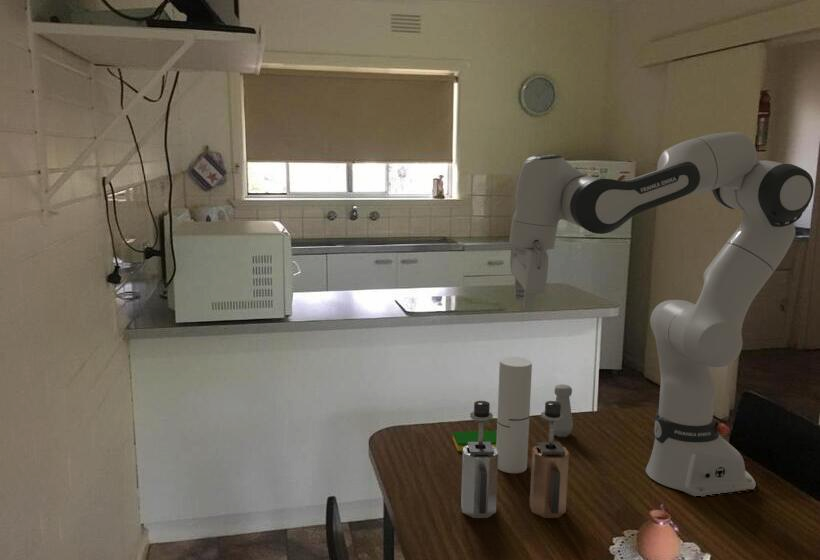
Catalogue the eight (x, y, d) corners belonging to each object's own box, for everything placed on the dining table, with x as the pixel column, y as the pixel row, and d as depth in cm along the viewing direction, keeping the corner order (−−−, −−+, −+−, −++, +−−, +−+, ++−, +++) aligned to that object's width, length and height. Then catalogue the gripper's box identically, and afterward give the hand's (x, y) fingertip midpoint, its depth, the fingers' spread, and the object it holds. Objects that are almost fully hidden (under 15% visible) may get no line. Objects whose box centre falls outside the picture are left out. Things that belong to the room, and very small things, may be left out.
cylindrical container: (526, 474, 149) (531, 367, 144) (494, 471, 150) (498, 365, 145) (527, 460, 155) (532, 358, 151) (496, 457, 157) (500, 355, 152)
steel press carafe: (492, 500, 137) (494, 439, 135) (499, 524, 128) (502, 459, 126) (460, 500, 137) (461, 439, 135) (464, 524, 128) (466, 459, 126)
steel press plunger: (489, 457, 134) (491, 399, 132) (492, 467, 130) (494, 407, 128) (467, 457, 134) (469, 399, 132) (470, 467, 130) (472, 407, 127)
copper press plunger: (558, 457, 135) (561, 399, 132) (563, 467, 130) (567, 407, 128) (536, 457, 134) (539, 399, 132) (541, 467, 130) (544, 407, 128)
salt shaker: (575, 432, 172) (578, 384, 169) (568, 440, 167) (571, 391, 165) (553, 427, 175) (556, 380, 172) (546, 435, 170) (548, 386, 168)
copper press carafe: (559, 500, 138) (563, 439, 135) (571, 524, 129) (575, 459, 126) (527, 500, 137) (530, 439, 135) (536, 524, 128) (540, 459, 126)
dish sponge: (452, 440, 167) (452, 431, 167) (506, 438, 169) (506, 429, 168) (457, 452, 160) (457, 443, 160) (513, 450, 162) (514, 441, 161)
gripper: (560, 247, 121) (548, 320, 124) (538, 231, 141) (529, 294, 144) (525, 243, 121) (515, 316, 123) (509, 228, 141) (500, 291, 143)
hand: (522, 304), depth 134 cm, fingers open, 8 cm apart
